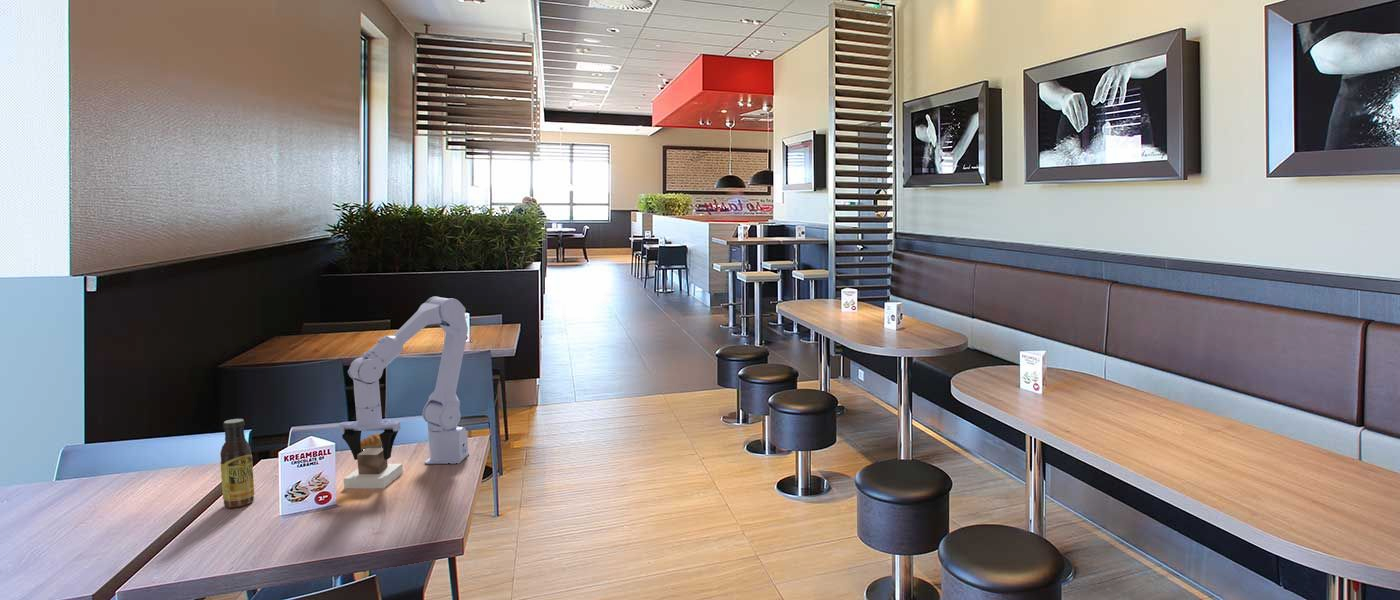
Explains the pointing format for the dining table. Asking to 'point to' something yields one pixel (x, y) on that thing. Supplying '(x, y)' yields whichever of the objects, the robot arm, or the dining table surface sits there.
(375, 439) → the pastry
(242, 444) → the sauce bottle
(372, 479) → the base block
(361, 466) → the walnut block
